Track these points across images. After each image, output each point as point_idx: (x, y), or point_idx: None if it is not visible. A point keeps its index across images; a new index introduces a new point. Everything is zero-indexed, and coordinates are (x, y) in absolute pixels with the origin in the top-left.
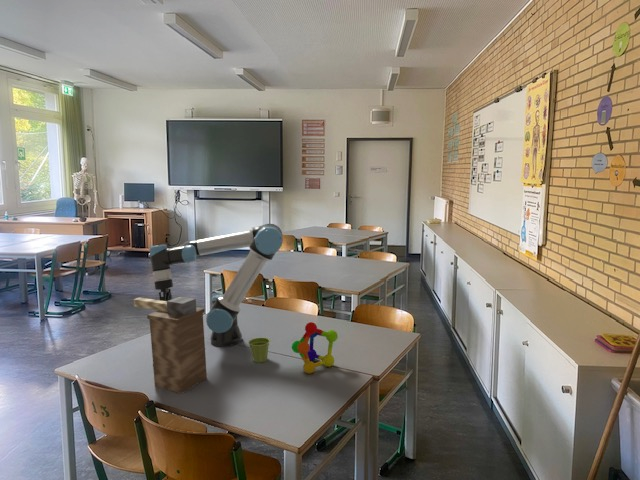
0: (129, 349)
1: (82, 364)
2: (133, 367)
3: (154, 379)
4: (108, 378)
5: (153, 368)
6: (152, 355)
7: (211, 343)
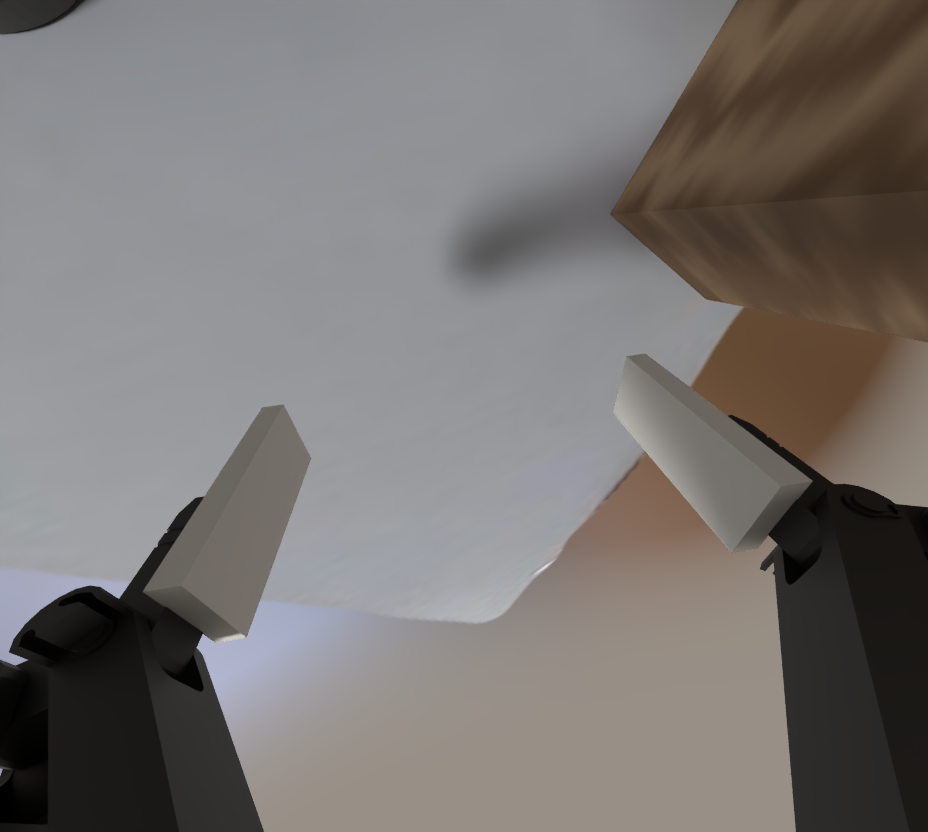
0: (320, 556)
1: (464, 602)
2: (512, 454)
3: (734, 303)
4: (584, 486)
5: (791, 315)
6: (885, 333)
7: (60, 12)
